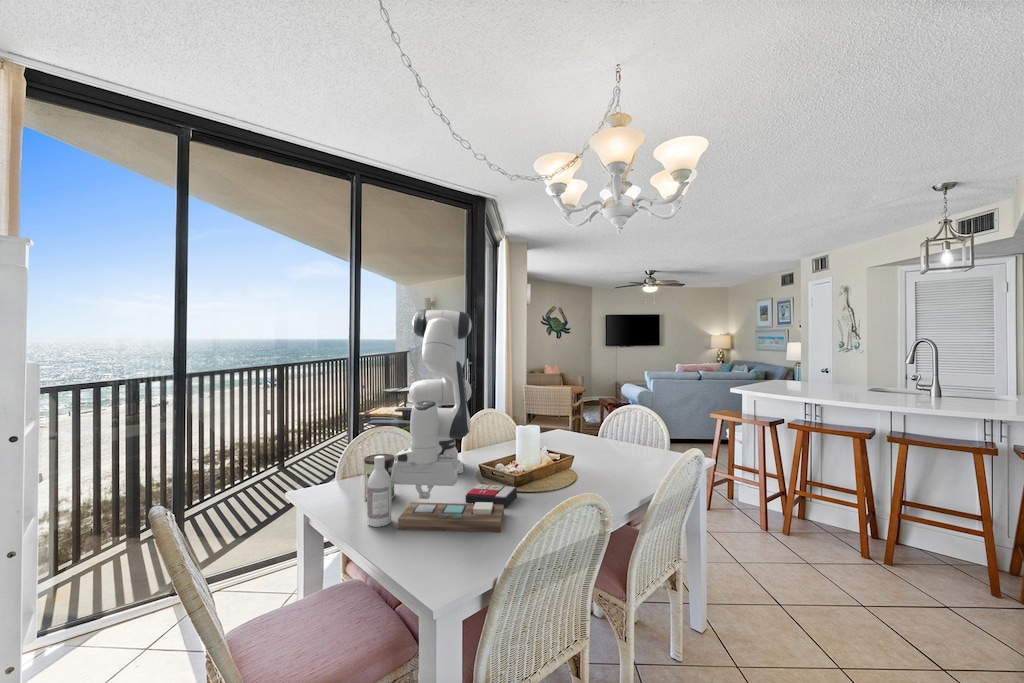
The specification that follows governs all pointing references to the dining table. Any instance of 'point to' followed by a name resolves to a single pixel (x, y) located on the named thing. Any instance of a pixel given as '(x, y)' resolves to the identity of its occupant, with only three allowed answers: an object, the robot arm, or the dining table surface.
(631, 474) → the dining table surface
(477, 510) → the cream key
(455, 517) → the keypad
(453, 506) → the teal key
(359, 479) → the dining table surface
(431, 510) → the grey key
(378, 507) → the bath foam
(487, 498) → the red and black box
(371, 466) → the coffee can
